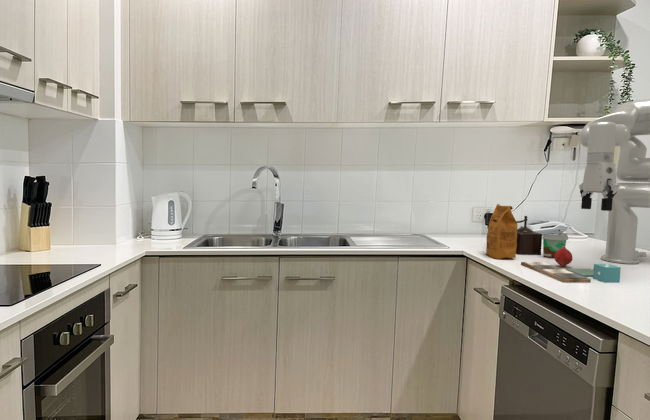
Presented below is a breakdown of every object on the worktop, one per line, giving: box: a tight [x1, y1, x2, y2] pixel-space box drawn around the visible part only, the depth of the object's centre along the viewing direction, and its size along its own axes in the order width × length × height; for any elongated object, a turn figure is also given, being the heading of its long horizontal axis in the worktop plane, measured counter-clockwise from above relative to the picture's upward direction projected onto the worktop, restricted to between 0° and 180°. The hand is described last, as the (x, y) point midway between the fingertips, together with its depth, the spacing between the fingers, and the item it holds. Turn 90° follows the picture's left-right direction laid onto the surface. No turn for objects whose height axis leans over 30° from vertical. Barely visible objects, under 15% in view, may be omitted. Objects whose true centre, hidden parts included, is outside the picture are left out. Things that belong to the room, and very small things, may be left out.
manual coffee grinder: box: [516, 215, 543, 256], centre depth 173 cm, size 16×11×18 cm
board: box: [520, 261, 592, 283], centre depth 137 cm, size 9×25×1 cm, turn 2°
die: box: [592, 263, 621, 284], centre depth 127 cm, size 5×5×5 cm
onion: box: [554, 246, 573, 268], centre depth 146 cm, size 6×6×8 cm
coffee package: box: [485, 203, 519, 260], centre depth 162 cm, size 10×12×22 cm
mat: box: [565, 268, 594, 278], centre depth 136 cm, size 9×9×1 cm
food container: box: [542, 231, 569, 260], centre depth 163 cm, size 12×6×10 cm, turn 118°
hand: (595, 209), depth 133 cm, fingers open, 9 cm apart
